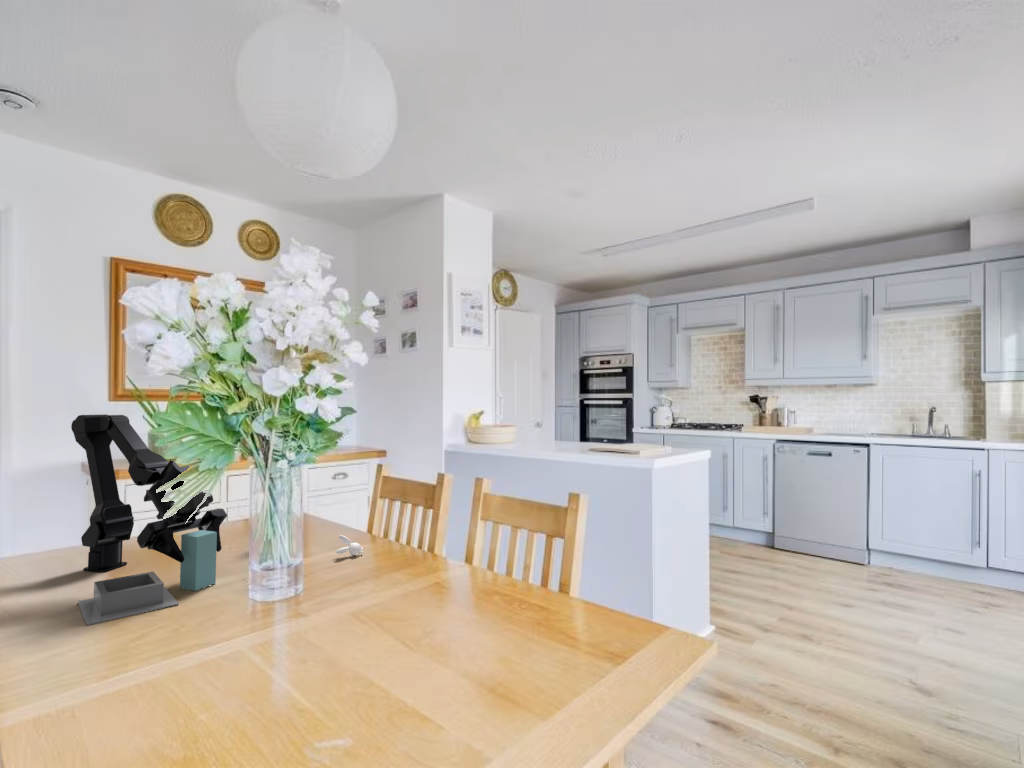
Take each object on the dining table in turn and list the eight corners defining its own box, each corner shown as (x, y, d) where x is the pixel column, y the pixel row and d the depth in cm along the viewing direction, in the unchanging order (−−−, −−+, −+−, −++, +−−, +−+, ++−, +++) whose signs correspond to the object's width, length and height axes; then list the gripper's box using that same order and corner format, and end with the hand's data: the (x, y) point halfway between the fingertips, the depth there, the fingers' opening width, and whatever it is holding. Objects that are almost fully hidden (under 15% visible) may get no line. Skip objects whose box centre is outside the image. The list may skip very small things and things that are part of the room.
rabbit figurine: (365, 558, 145) (338, 548, 142) (357, 566, 147) (330, 557, 143) (367, 541, 150) (341, 531, 147) (359, 550, 152) (334, 540, 148)
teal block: (179, 588, 121) (181, 534, 121) (200, 581, 125) (201, 529, 126) (195, 591, 119) (197, 537, 119) (215, 584, 124) (216, 532, 124)
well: (78, 603, 111) (78, 581, 112) (162, 586, 122) (163, 566, 122) (86, 625, 101) (87, 601, 101) (178, 605, 111) (179, 583, 111)
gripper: (147, 486, 116) (181, 543, 111) (222, 475, 133) (254, 524, 129) (122, 519, 119) (154, 576, 114) (199, 504, 136) (230, 553, 131)
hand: (202, 555), depth 122 cm, fingers open, 9 cm apart
